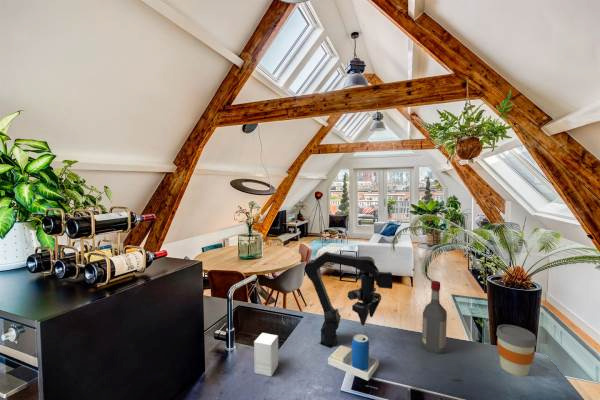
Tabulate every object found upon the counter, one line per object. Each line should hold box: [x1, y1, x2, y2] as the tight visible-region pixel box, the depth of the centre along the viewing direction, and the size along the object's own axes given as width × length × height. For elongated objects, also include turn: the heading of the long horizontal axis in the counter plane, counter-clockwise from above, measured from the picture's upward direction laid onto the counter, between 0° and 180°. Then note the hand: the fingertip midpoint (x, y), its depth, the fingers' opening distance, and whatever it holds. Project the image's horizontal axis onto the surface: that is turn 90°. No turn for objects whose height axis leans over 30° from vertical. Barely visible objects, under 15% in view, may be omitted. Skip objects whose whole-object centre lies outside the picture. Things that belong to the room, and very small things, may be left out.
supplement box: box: [253, 332, 279, 377], centre depth 112 cm, size 7×7×13 cm
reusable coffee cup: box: [495, 324, 537, 377], centre depth 113 cm, size 13×12×15 cm
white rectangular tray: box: [327, 345, 380, 381], centre depth 114 cm, size 17×11×3 cm, turn 55°
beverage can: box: [351, 333, 370, 371], centre depth 112 cm, size 6×6×12 cm
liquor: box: [421, 280, 448, 355], centre depth 127 cm, size 9×9×30 cm
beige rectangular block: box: [331, 345, 352, 364], centre depth 117 cm, size 5×8×4 cm, turn 145°
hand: (367, 320), depth 125 cm, fingers open, 9 cm apart
